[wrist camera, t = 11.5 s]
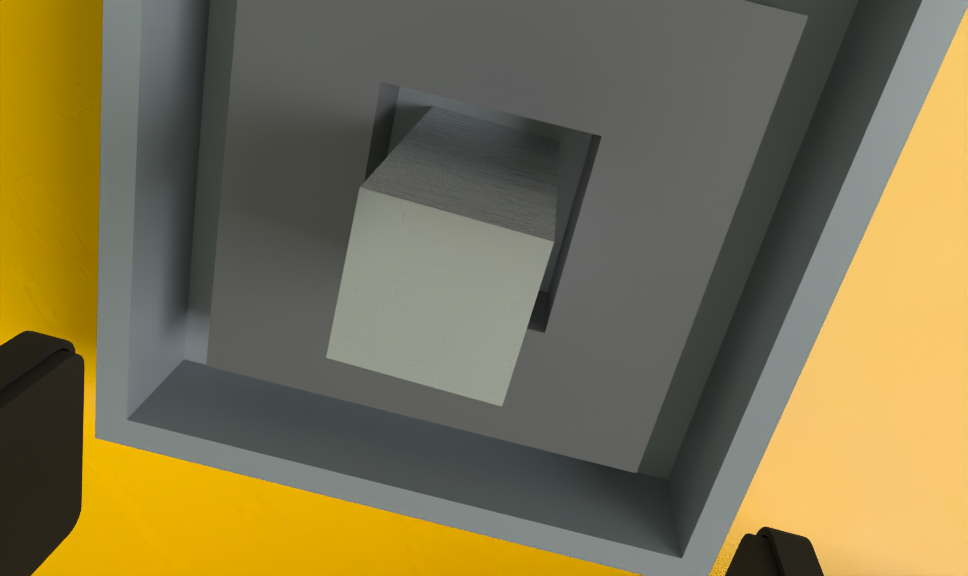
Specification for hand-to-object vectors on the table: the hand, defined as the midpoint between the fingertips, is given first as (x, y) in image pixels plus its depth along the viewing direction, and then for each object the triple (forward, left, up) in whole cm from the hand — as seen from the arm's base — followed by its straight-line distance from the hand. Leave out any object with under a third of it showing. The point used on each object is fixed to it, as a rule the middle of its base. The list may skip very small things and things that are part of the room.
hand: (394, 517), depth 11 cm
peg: (+1, 0, -15) cm, 15 cm away
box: (+1, 0, -16) cm, 16 cm away
